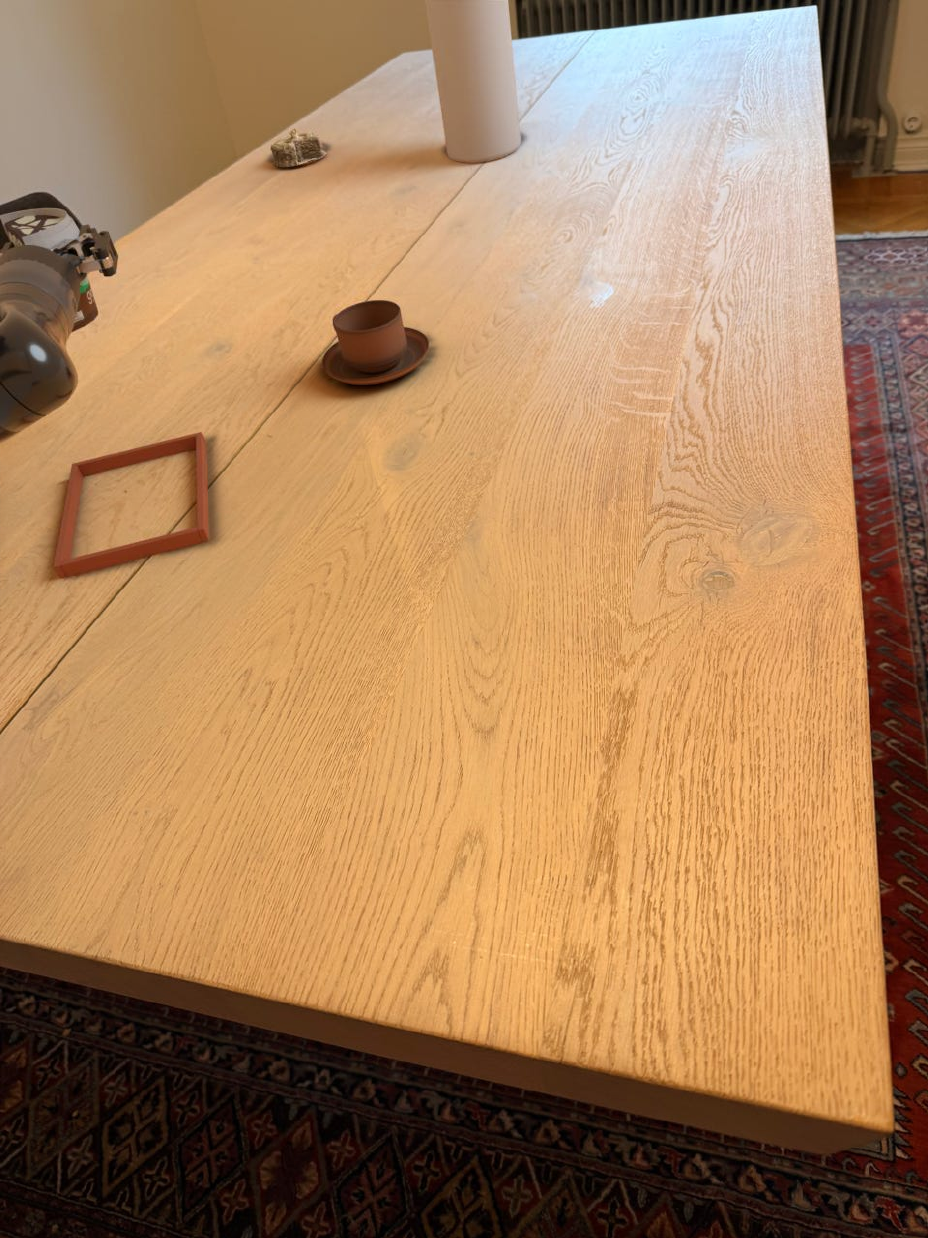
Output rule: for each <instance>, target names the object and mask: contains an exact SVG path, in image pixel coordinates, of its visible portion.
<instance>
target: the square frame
mask: <svg viewBox="0 0 928 1238" xmlns="http://www.w3.org/2000/svg"><path fill="white" fill-rule="evenodd" d="M193 450H196V451H195V453H196V454H195V455H196V456H195V457H196V461H195V462H196V463H195V464H196V512H197V513H196V521H197V522H196V526H195V527H192V528H190V527H189V528H187V529H182V530H178V531H175V532H171V533H167V534H163V535H158V536H156V537H155V536H154V537H152V538H147V539H143V540H139V541H135V542H132V543H128V544H127V543H126V544H124V545H120V546H115V547H112V548H108V549H104V550H100V551H96V552H92V553H88V554H84V555H81V556H76V557H73V558H71V555H72V554H71V553H72V548H73V542H74V537H75V530H76V525H77V519H78V518H77V517H78V511H79V505H80V499H81V493H82V487H83V486H82V485H83V479H84V477H87V476H92V475H95V474H99V473H100V474H101V473H103V472H107V471H111V470H116V469H119V468H123V467H128V466H132V465H136V464H140V463H144V462H148V461H151V460H152V461H153V460H155V459H161V458H164V457H168V456H173V455H176V454H180V453H184V452H189V451H193ZM207 453H208V452H207V442H206V439H205V436H204V434H203V432H202V431H199V432H196V433H195V432H194V433H191V434H188V435H183V436H179V437H175V438H172V439H168V440H163V441H158V442H155V443H152V444H151V443H150V444H146V445H143V446H139V447H135V448H131V449H125V450H123V451H118V452H114V453H110V454H106V455H102V456H98V457H95V458H94V457H93V458H90V459H86V460H82V461H78V462H74V463H71V468H70V473H69V479H68V484H67V490H66V495H65V501H64V507H63V513H62V517H61V523H60V528H59V534H58V540H57V544H56V551H55V556H54V562H53V569H54V571H55V572H56V574H57V576H58V577H59V579H60V580H62V579H65V578H69V577H74V576H78V575H81V574H86V573H89V572H93V571H97V570H100V569H105V568H109V567H112V566H116V565H120V564H125V563H128V562H132V561H137V560H141V559H145V558H148V557H151V556H155V555H160V554H163V553H167V552H172V551H175V550H178V549H183V548H187V547H191V546H195V545H199V544H203V543H207V542H209V541H210V524H209V522H210V520H209V519H210V518H209V493H208V490H209V489H208V457H207Z"/></svg>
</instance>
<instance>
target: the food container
mask: <svg viewBox="0 0 928 1238" xmlns="http://www.w3.org/2000/svg"><path fill="white" fill-rule="evenodd" d="M0 222H1V225H2V227H3V229H4V232H5V234H6V236H7V237H8V239H9V242H13V243H14V245H15V247H16V246H21V245H36V246H41V247H44V248H52V247H53V246H55V245H56V244H58V243H60V242H61V241H63V240H64V239H76V238H78V237H79V233H80V228H79V227H78V226H77V224H76V222H75V220H74V218H73V217H72V216H70V215H69V214H68V212H67V211H66V210H64V209H62V208H57V207H40V208H30V209H23V210H17V211H13V212H8V213H3V214H0ZM64 253H68V252H67V251H65V252H64ZM80 288H81V293H80V301H79V305H78V310H77V314H76V318H75V322H74V326H73V329H72V332H71V333H73V332H76V331H79V330H80V329H82V328H84V327H86V326H88V325H89V324H91V323H92V322H93V321H95V320H96V319H97V317H98V316H99V309H98V307H97V303H96V300H95V296H94V293H93V290H92V286H91V284H90V280H89V277H88V275H87V276H86V278H85V279H84V280H83V281H82V282H81V283H80Z"/></svg>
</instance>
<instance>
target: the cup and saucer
mask: <svg viewBox="0 0 928 1238" xmlns="http://www.w3.org/2000/svg"><path fill="white" fill-rule="evenodd" d="M401 309H402V308H401V306H400V305H399V304H398V303H396V302H394V301H391V300H384V299H374V300H373V299H372V300H366V301H361V302H357V303H355V304H352V305H350V306H347V307H345V308H344V309H342V310H341V311H339V312H338V313H336V314H334V316H333V317H332V327H333V330H334V331H335V333H336V337H337V340H338V341H336V342H335V343H333V344H332V345H331V346H330V347H328V349H327V350H326V351H325V353H324V354H323V356H322V359H321V364H322V368H323V370H324V371H325V373H326V374H327V375H328V376H329V377H330V378H332V379H333V380H336V381H338V382H341V383H344V384H347V385H354V386H356V385H357V386H368V385H378V384H382V383H386V382H390V381H394V380H396V379H398V378H401V377H403V376H405V375H408V374H410V372H412V371H413V370H415V369H416V368H417V367H419V365H421V364H422V363H423V361H424V360H425V358H426V357H427V355H428V353H429V350H430V349H429V347H430V341H429V339H428V337H427V336H426V335H425V334H424V332H422V331H420V330H418V329H415V328H412V327H409V326H408V327H407V326H404V321H403V315H402V310H401Z"/></svg>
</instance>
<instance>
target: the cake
mask: <svg viewBox="0 0 928 1238" xmlns="http://www.w3.org/2000/svg"><path fill="white" fill-rule="evenodd" d="M270 151H271V154H272V155H273V163H272V166H274V167H277V168H291V167H295V166H301V165H305V164H309V163H312V162H314V161H316V160H320V159H321V158H323V157H325V156H327V153H328V152H327V151H325V150H324V149H323V145H322V140H321V138H320V137H319V134H317V133H316V132H313V131H311V132H310V131H308V132H307V131H304V132H297V129H296V128H293V129H292V130H290V131H289V135H288V136H286V137H282V138H279V139H277V140H275V141H274V143H273V144H271V145H270ZM312 158H317V159H315V160H313V161H310V162H306V163H303V164H299V163H298V162H301V161H303V160H305V159H312Z"/></svg>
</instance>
